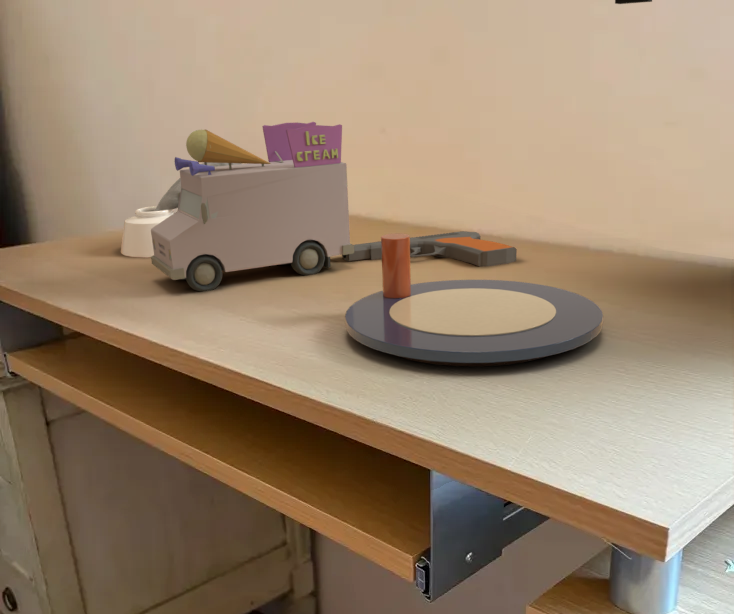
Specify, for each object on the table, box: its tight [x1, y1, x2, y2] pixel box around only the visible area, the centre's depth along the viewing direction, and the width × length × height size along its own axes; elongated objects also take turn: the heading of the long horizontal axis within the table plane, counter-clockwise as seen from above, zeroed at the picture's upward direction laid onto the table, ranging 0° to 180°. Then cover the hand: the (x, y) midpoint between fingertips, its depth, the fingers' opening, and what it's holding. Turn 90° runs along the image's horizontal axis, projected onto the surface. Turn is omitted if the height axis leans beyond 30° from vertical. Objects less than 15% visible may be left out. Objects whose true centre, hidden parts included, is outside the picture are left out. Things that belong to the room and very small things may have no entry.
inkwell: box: [120, 162, 242, 259], centre depth 102 cm, size 9×18×10 cm, turn 129°
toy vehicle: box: [150, 121, 355, 293], centre depth 84 cm, size 9×20×15 cm, turn 117°
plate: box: [344, 232, 604, 363], centre depth 64 cm, size 20×20×6 cm
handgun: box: [341, 230, 518, 268], centre depth 90 cm, size 2×16×12 cm
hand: (633, 2), depth 70 cm, fingers closed
